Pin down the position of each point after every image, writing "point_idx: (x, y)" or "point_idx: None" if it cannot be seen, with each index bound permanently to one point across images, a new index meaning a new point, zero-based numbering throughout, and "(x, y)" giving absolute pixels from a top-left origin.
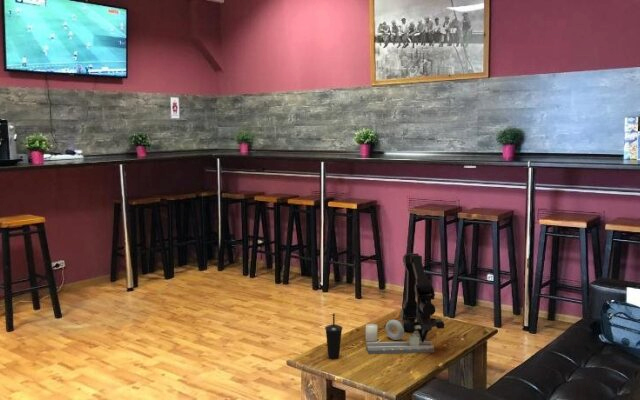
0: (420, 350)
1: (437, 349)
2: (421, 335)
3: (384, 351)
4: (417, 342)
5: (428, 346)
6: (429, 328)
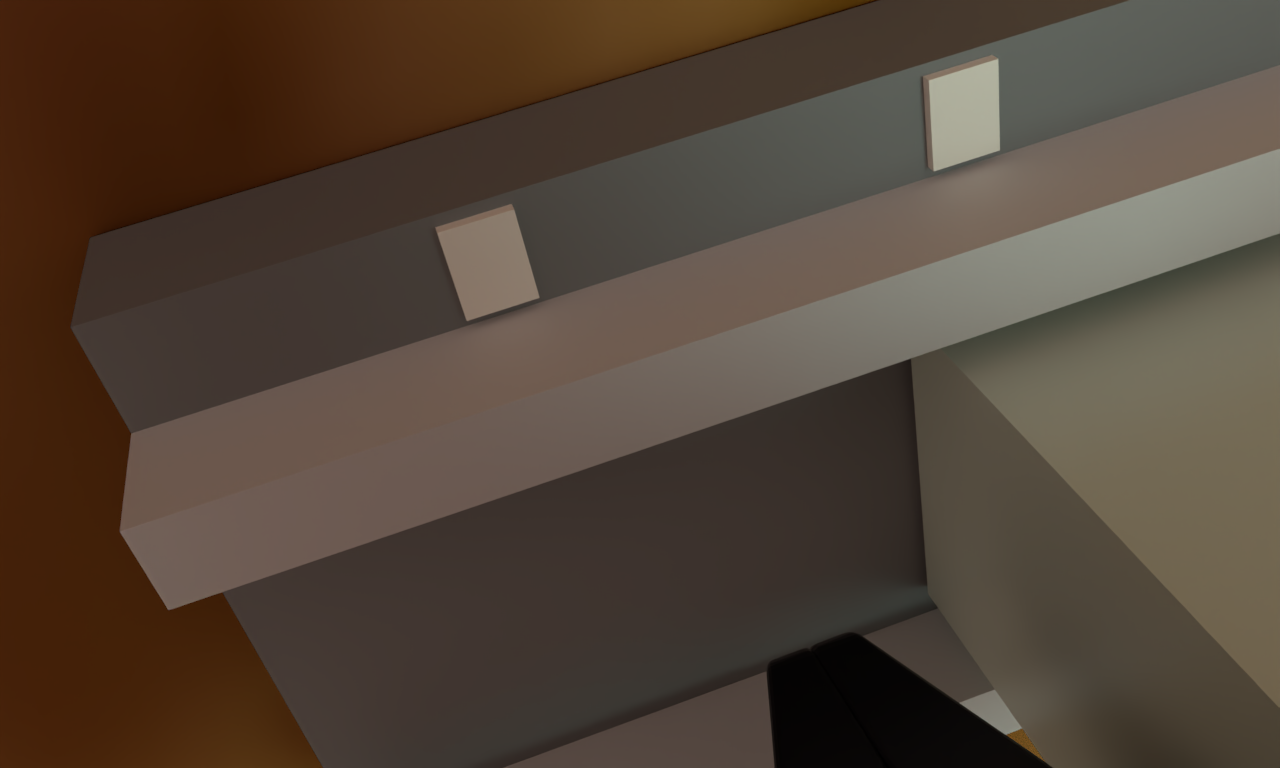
0: (847, 66)
1: (4, 624)
2: None
3: None
4: (1165, 437)
5: (449, 403)
6: None
